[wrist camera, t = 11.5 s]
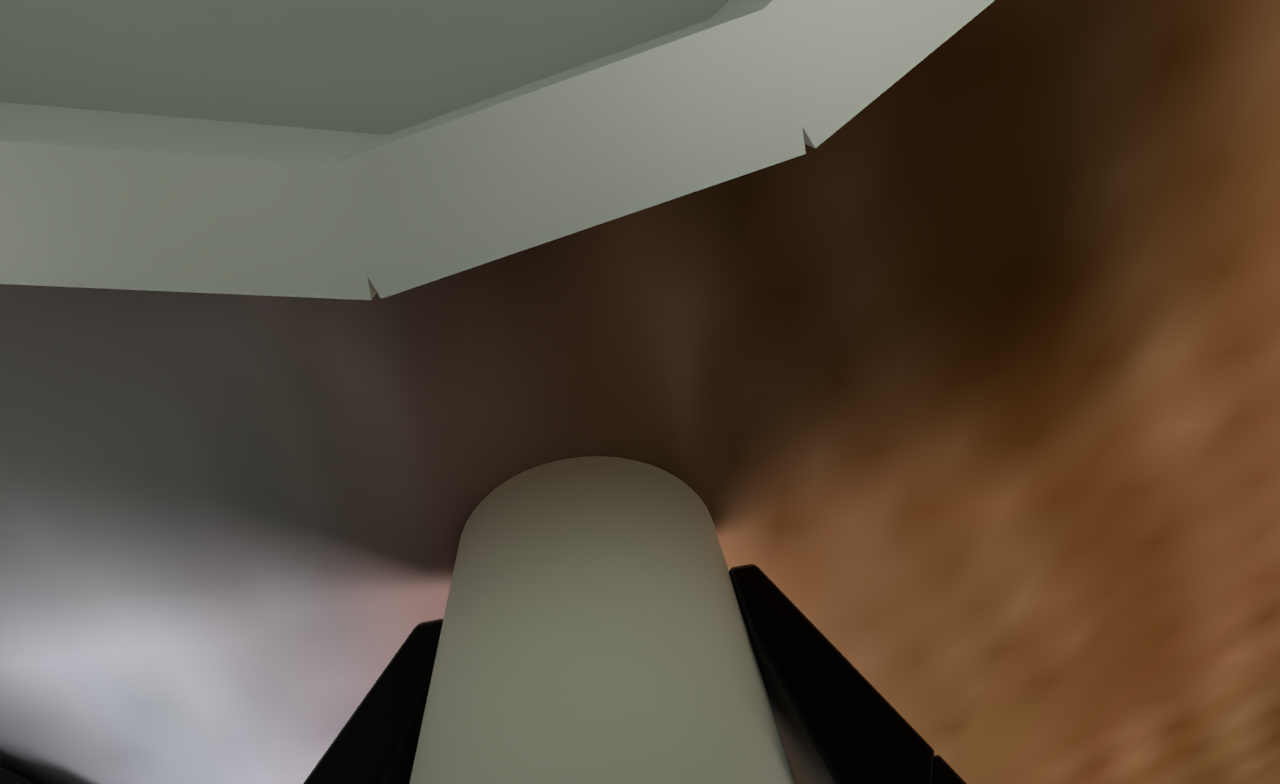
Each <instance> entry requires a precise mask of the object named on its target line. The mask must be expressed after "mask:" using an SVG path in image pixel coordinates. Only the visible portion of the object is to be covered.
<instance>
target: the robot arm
mask: <svg viewBox="0 0 1280 784" xmlns="http://www.w3.org/2000/svg"><path fill="white" fill-rule="evenodd" d="M729 574H730V577H731V580H732V583H733V587H734V590H735V593H736V596H737V599H738V602H739V606H740V609H741V612H742V615H743V618H744V621H745V624H746V628H747V631H748V634H749V637H750V640H751V643H752V646H753V650H754V653H755V656H756V659H757V662H758V665H759V669H760V672H761V675H762V678H763V681H764V684H765V688H766V691H767V694H768V697H769V700H770V703H771V706H772V710H773V713H774V716H775V719H776V722H777V725H778V729H779V732H780V735H781V738H782V741H783V744H784V747H785V751H786V754H787V757H788V760H789V763H790V766H791V770H792V773H793V776H794V779H795V782H796V784H966V783H965V782H964V781H963V780H962V778H961V777H960V776H959V775H958V774H957V773H956V772H955V771H954V770H953V769H952V768H951V767H950V766H949V765H948V764H947V763H946V762H945V761H944V760H943V759H942V758H941V757H940V756H939V755H936V756H935V757H934V750H933V749H932V748H931V746H930V745H929V744H928V743H927V742H926V741H925V740H924V739H923V738H922V737H921V736H920V735H919V734H918V733H917V732H916V731H915V730H914V729H913V728H912V727H911V726H910V725H909V724H908V723H907V722H906V721H905V719H904V718H903V717H902V716H901V715H900V714H899V713H898V712H897V711H896V710H895V709H894V708H893V707H892V706H891V705H890V704H889V703H888V702H887V701H886V700H885V699H884V698H883V697H882V696H881V695H880V693H879V692H878V691H877V690H876V689H875V688H874V687H873V686H872V685H871V684H870V683H869V682H868V681H867V680H866V679H865V678H864V677H863V676H862V675H861V674H860V673H859V672H858V671H857V670H856V669H855V667H854V666H853V665H852V664H851V663H850V662H849V661H848V660H847V659H846V658H845V657H844V656H843V655H842V654H841V653H840V652H839V651H838V650H837V649H836V648H835V647H834V646H833V645H832V644H831V643H830V641H829V640H828V639H827V638H826V637H825V636H824V635H823V634H822V633H821V632H820V631H819V630H818V629H817V628H816V627H815V626H814V625H813V624H812V623H811V622H810V621H809V620H808V619H807V618H806V617H805V615H804V614H803V613H802V612H801V611H800V610H799V609H798V608H797V607H796V606H795V605H794V604H793V603H792V602H791V601H790V600H789V599H788V598H787V597H786V596H785V595H784V594H783V593H782V592H781V591H780V589H779V588H778V587H777V586H776V585H775V584H774V583H773V582H772V581H771V580H770V579H769V578H768V577H767V576H766V575H765V574H764V573H763V572H762V571H761V570H760V569H759V568H758V567H757V566H756V565H753V564H749V565H743V566H737V567H733V568H731V569H730V571H729ZM442 624H443V619H438V620H432V621H427V622H422V623H420V624H418V625H417V626H416V627H415V628H414V629H413V631H412V632H411V634H410V635H409V636H408V638H407V639H406V641H405V642H404V643H403V645H402V646H401V648H400V649H399V650H398V652H397V653H396V655H395V656H394V657H393V659H392V660H391V662H390V663H389V664H388V666H387V667H386V669H385V670H384V671H383V673H382V674H381V676H380V677H379V678H378V680H377V681H376V683H375V684H374V685H373V687H372V688H371V690H370V691H369V692H368V694H367V695H366V697H365V698H364V699H363V701H362V702H361V704H360V705H359V706H358V708H357V709H356V711H355V712H354V713H353V715H352V716H351V718H350V719H349V720H348V722H347V723H346V725H345V726H344V727H343V729H342V730H341V732H340V733H339V734H338V736H337V737H336V739H335V740H334V741H333V743H332V744H331V746H330V747H329V748H328V750H327V751H326V753H325V754H324V755H323V757H322V758H321V760H320V761H319V762H318V764H317V765H316V767H315V768H314V769H313V771H312V772H311V774H310V775H309V776H308V778H307V779H306V781H305V782H304V783H303V784H409V783H410V778H411V774H412V769H413V764H414V759H415V754H416V749H417V745H418V740H419V735H420V730H421V725H422V721H423V716H424V711H425V706H426V701H427V696H428V692H429V687H430V682H431V677H432V672H433V667H434V663H435V658H436V653H437V648H438V643H439V638H440V634H441V629H442ZM0 784H34V783H32V782H30V781H28V780H26V779H24V778H22V777H20V776H18V775H16V774H14V773H12V772H10V771H8V770H6V769H4V768H2V767H0Z"/></svg>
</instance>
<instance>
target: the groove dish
mask: <svg viewBox="0 0 1280 784" xmlns="http://www.w3.org/2000/svg"><path fill="white" fill-rule="evenodd" d="M994 1H995V0H0V284H11V285H34V286H56V287H79V288H102V289H125V290H147V291H170V292H193V293H215V294H238V295H261V296H284V297H306V298H329V299H352V300H372V298H373V297H374V296H375V294H376V293H378V295H379V296H380V298H381V299H383V298H385V297H388V296H391V295H394V294H397V293H400V292H403V291H406V290H409V289H412V288H415V287H418V286H421V285H424V284H426V283H429V282H432V281H435V280H438V279H441V278H444V277H447V276H450V275H453V274H456V273H459V272H462V271H464V270H467V269H470V268H473V267H476V266H479V265H482V264H485V263H488V262H491V261H494V260H497V259H500V258H503V257H505V256H508V255H511V254H514V253H517V252H520V251H523V250H526V249H529V248H532V247H535V246H538V245H541V244H544V243H546V242H549V241H552V240H555V239H558V238H561V237H564V236H567V235H570V234H573V233H576V232H579V231H582V230H585V229H587V228H590V227H593V226H596V225H599V224H602V223H605V222H608V221H611V220H614V219H617V218H620V217H623V216H626V215H628V214H631V213H634V212H637V211H640V210H643V209H646V208H649V207H652V206H655V205H658V204H661V203H664V202H666V201H669V200H672V199H675V198H678V197H681V196H684V195H687V194H690V193H693V192H696V191H699V190H702V189H705V188H707V187H710V186H713V185H716V184H719V183H722V182H725V181H728V180H731V179H734V178H737V177H740V176H743V175H746V174H748V173H751V172H754V171H757V170H760V169H763V168H766V167H769V166H772V165H775V164H778V163H781V162H784V161H787V160H789V159H792V158H795V157H798V156H801V155H804V154H806V151H805V144H806V145H808V146H811V147H813V148H817V147H818V146H819V145H820V144H822V143H823V142H824V141H825V140H826V139H828V138H829V137H830V136H831V135H832V134H834V133H835V132H836V131H837V130H838V129H840V128H841V127H842V126H843V125H845V124H846V123H847V122H848V121H849V120H851V119H852V118H853V117H854V116H855V115H857V114H858V113H859V112H860V111H862V110H863V109H864V108H865V107H866V106H868V105H869V104H870V103H871V102H872V101H874V100H875V99H876V98H877V97H878V96H880V95H881V94H882V93H883V92H885V91H886V90H887V89H888V88H889V87H891V86H892V85H893V84H894V83H895V82H897V81H898V80H899V79H900V78H902V77H903V76H904V75H905V74H906V73H908V72H909V71H910V70H911V69H912V68H914V67H915V66H916V65H917V64H919V63H920V62H921V61H922V60H923V59H925V58H926V57H927V56H928V55H929V54H931V53H932V52H933V51H934V50H935V49H937V48H938V47H939V46H940V45H942V44H943V43H944V42H945V41H946V40H948V39H949V38H950V37H951V36H952V35H954V34H955V33H956V32H957V31H959V30H960V29H961V28H962V27H963V26H965V25H966V24H967V23H968V22H969V21H971V20H972V19H973V18H974V17H975V16H977V15H978V14H979V13H980V12H982V11H983V10H984V9H985V8H986V7H988V6H989V5H990V4H991V3H992V2H994Z"/></svg>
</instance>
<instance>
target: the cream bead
mask: <svg viewBox="0 0 1280 784" xmlns="http://www.w3.org/2000/svg"><path fill="white" fill-rule="evenodd" d="M409 784H796V782H795V779H794V776H793V773H792V770H791V766H790V763H789V760H788V757H787V754H786V751H785V747H784V744H783V741H782V738H781V735H780V732H779V729H778V725H777V722H776V719H775V716H774V713H773V710H772V706H771V703H770V700H769V697H768V694H767V691H766V688H765V684H764V681H763V678H762V675H761V672H760V669H759V665H758V662H757V659H756V656H755V653H754V650H753V646H752V643H751V640H750V637H749V634H748V631H747V628H746V624H745V621H744V618H743V615H742V612H741V609H740V606H739V602H738V599H737V596H736V593H735V590H734V587H733V583H732V580H731V577H730V574H729V571H728V568H727V564H726V561H725V558H724V555H723V552H722V549H721V546H720V542H719V539H718V536H717V533H716V530H715V527H714V523H713V520H712V518H711V516H710V513H709V511H708V509H707V507H706V506H705V504H704V503H703V501H702V500H701V498H700V497H699V496H698V495H697V494H696V493H695V492H694V491H693V489H692V488H690V487H689V486H688V485H687V484H685V483H684V482H683V481H682V480H680V479H679V478H677V477H675V476H674V475H672V474H670V473H669V472H667V471H665V470H662V469H660V468H658V467H655V466H653V465H650V464H647V463H643V462H640V461H636V460H631V459H625V458H619V457H607V456H587V457H575V458H568V459H562V460H557V461H553V462H549V463H546V464H542V465H539V466H537V467H534V468H531V469H529V470H526V471H524V472H522V473H520V474H518V475H516V476H514V477H512V478H510V479H508V480H507V481H505V482H504V483H502V484H501V485H499V486H498V487H497V488H495V489H494V490H493V491H492V492H491V493H489V494H488V495H487V496H486V497H485V498H484V499H483V500H482V501H481V502H480V503H479V504H478V506H477V507H476V508H475V509H474V510H473V512H472V513H471V515H470V517H469V518H468V520H467V522H466V524H465V526H464V529H463V531H462V534H461V537H460V542H459V547H458V552H457V556H456V561H455V566H454V571H453V576H452V580H451V585H450V590H449V595H448V600H447V605H446V609H445V614H444V619H443V624H442V629H441V634H440V638H439V643H438V648H437V653H436V658H435V663H434V667H433V672H432V677H431V682H430V687H429V692H428V696H427V701H426V706H425V711H424V716H423V721H422V725H421V730H420V735H419V740H418V745H417V749H416V754H415V759H414V764H413V769H412V774H411V778H410V783H409Z"/></svg>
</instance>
